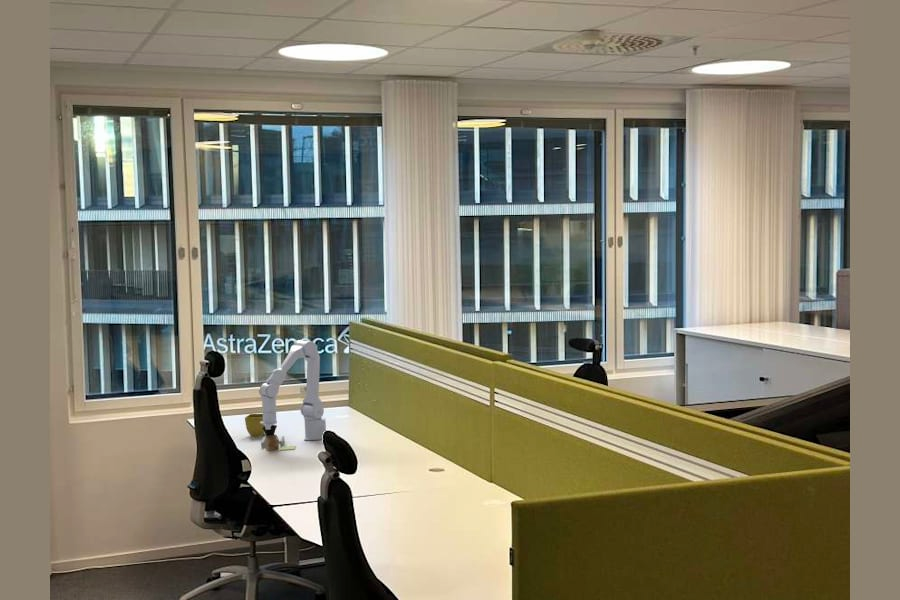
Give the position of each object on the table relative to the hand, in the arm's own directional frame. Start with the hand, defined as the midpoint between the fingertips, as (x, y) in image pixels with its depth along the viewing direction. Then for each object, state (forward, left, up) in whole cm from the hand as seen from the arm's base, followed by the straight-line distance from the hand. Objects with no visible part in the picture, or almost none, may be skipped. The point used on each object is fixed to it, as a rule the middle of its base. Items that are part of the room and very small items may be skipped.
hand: (270, 442), depth 393 cm
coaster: (-8, +3, -2) cm, 8 cm away
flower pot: (+8, -28, -3) cm, 29 cm away
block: (-1, +2, -2) cm, 3 cm away
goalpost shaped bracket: (-1, -6, -2) cm, 6 cm away
